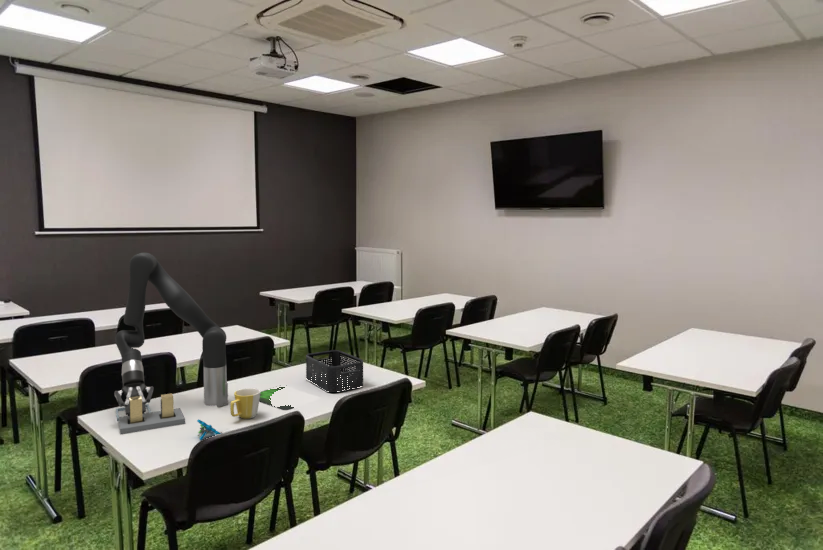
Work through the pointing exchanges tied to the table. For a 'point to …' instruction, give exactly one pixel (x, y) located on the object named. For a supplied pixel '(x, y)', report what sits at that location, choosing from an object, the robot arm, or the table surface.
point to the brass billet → (135, 409)
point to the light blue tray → (124, 409)
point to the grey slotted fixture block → (151, 421)
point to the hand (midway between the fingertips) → (136, 413)
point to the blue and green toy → (206, 429)
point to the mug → (246, 403)
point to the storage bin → (335, 370)
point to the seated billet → (167, 406)
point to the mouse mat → (266, 396)
